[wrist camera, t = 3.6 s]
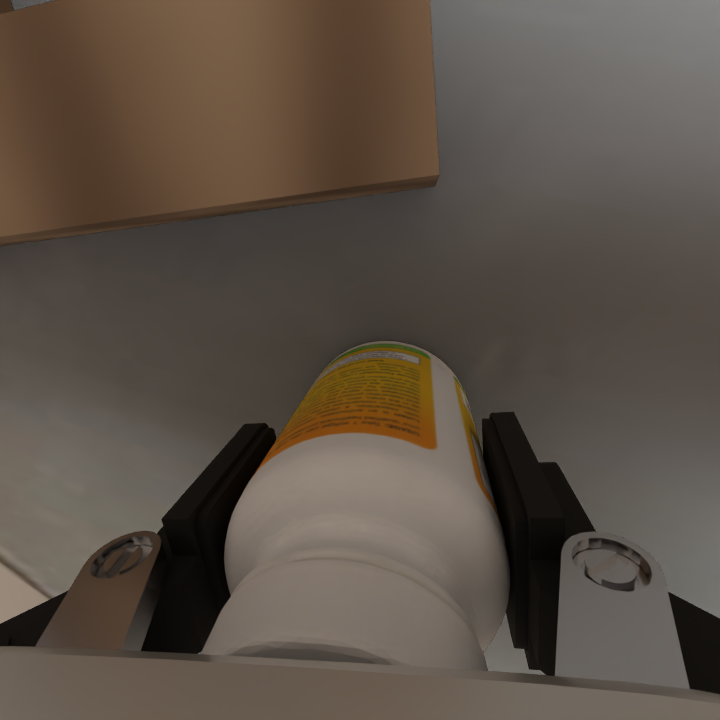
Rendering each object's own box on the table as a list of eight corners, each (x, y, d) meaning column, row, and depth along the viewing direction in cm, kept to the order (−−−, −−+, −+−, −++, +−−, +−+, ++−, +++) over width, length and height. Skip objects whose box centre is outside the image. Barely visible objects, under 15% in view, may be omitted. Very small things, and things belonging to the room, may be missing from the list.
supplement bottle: (282, 416, 15) (56, 732, 6) (378, 303, 13) (277, 495, 4) (396, 506, 15) (361, 929, 6) (503, 409, 13) (679, 800, 4)
